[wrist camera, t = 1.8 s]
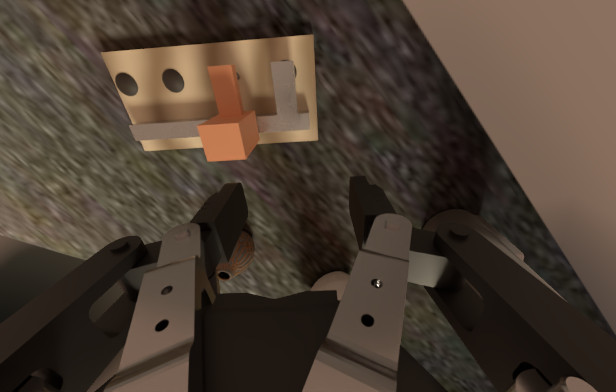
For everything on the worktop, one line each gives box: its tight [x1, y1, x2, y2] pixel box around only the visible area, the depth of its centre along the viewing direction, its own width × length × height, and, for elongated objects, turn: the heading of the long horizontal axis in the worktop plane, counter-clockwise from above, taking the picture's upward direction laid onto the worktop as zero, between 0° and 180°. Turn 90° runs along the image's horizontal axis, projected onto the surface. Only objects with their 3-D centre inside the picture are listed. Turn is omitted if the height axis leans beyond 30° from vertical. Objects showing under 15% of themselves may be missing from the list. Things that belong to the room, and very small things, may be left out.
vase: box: [216, 231, 255, 281], centre depth 38 cm, size 7×7×9 cm
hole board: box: [101, 35, 318, 151], centre depth 29 cm, size 25×12×1 cm, turn 94°
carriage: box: [197, 65, 260, 161], centre depth 25 cm, size 4×8×9 cm, turn 4°
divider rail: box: [129, 60, 310, 141], centre depth 27 cm, size 23×8×3 cm, turn 94°
